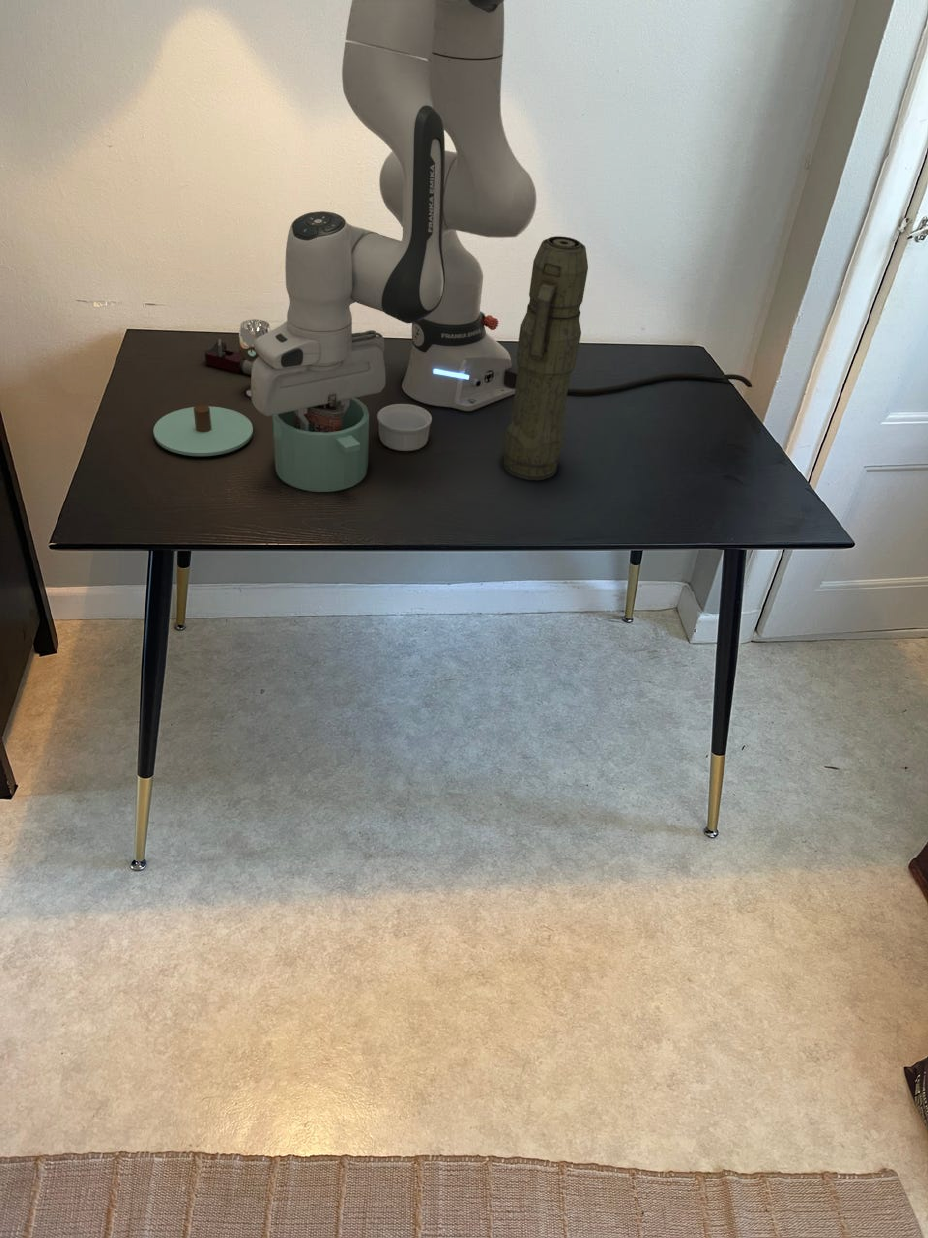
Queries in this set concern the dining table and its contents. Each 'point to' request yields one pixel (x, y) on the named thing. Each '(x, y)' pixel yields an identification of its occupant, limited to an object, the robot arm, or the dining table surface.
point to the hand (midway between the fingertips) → (321, 428)
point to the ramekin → (404, 426)
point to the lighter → (324, 416)
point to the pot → (322, 451)
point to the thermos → (546, 358)
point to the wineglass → (251, 339)
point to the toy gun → (227, 359)
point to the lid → (203, 431)
